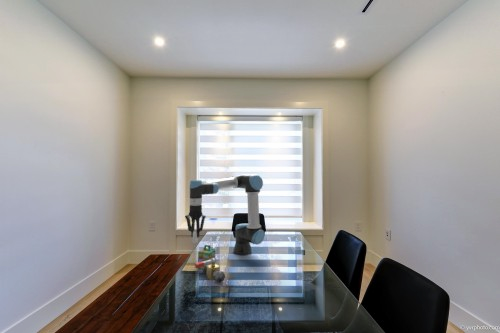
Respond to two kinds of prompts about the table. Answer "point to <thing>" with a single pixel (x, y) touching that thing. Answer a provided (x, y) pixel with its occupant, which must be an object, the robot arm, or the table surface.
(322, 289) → the table surface
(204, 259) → the chalk box
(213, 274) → the valve
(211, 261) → the lever
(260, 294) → the table surface
